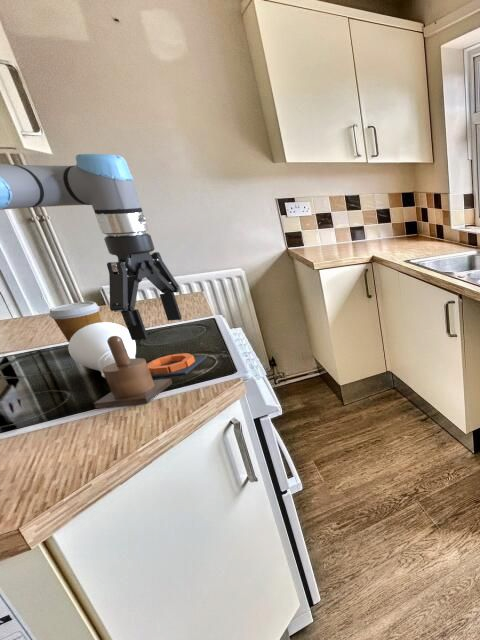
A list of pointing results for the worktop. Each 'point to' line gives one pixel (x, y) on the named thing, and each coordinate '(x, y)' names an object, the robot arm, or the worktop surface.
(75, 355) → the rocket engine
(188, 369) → the mat
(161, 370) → the ring
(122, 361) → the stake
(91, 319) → the disposable coffee cup
